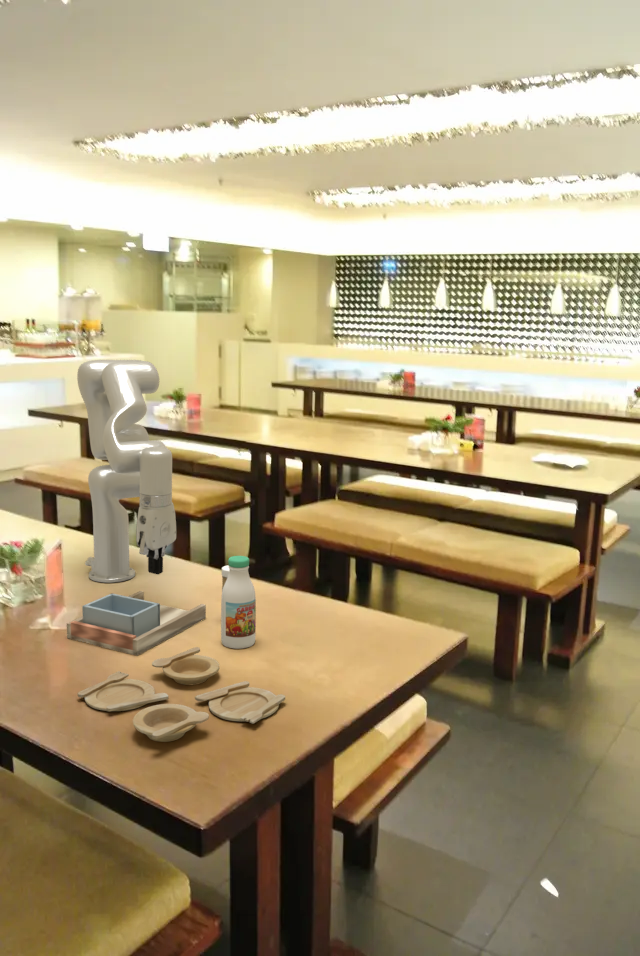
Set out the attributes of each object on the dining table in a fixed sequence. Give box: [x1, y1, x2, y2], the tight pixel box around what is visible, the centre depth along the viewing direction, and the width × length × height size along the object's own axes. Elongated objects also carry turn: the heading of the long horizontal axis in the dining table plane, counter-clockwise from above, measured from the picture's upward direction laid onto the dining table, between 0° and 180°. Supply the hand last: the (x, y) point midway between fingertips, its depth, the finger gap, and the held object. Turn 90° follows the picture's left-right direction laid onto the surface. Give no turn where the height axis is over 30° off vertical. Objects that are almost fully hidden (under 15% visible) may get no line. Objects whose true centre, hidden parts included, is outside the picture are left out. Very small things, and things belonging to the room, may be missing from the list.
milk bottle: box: [220, 555, 257, 650], centre depth 186 cm, size 8×8×20 cm
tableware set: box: [77, 646, 286, 743], centre depth 158 cm, size 35×29×4 cm
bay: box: [66, 590, 207, 657], centre depth 195 cm, size 20×26×4 cm
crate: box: [81, 593, 161, 638], centre depth 189 cm, size 14×10×6 cm
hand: (155, 572), depth 200 cm, fingers closed
